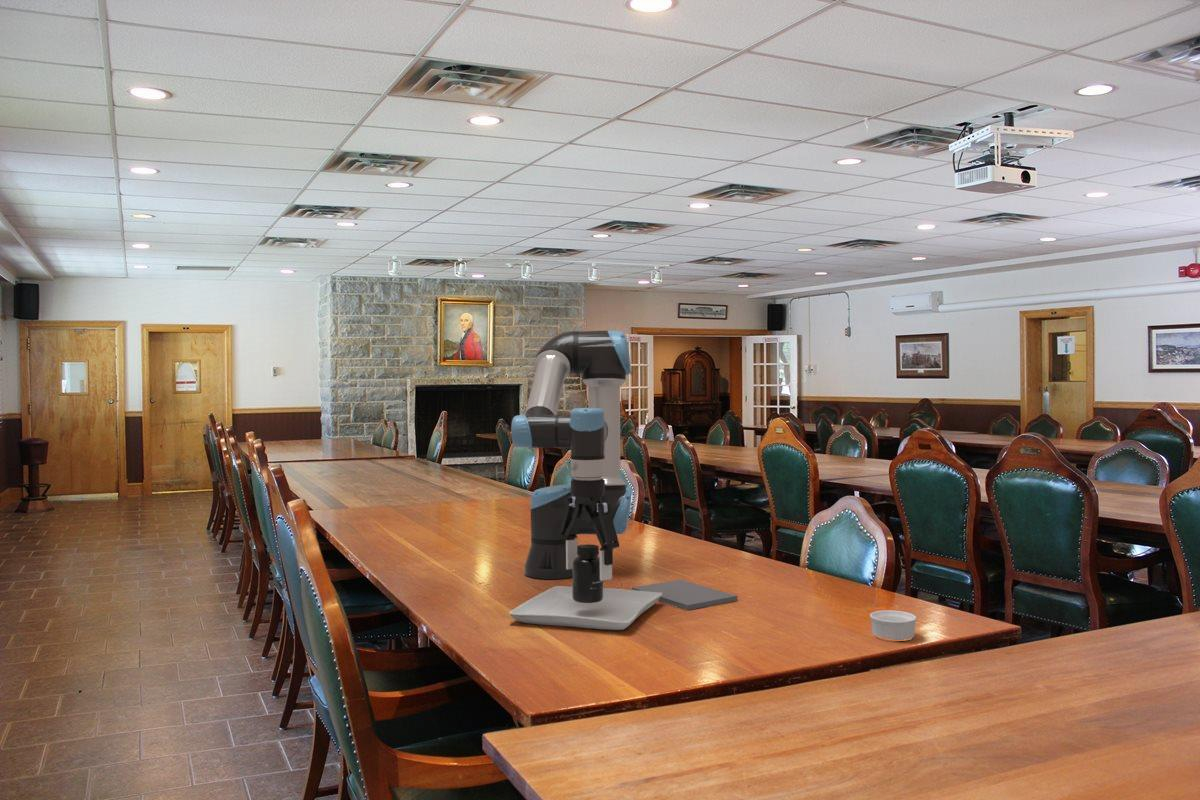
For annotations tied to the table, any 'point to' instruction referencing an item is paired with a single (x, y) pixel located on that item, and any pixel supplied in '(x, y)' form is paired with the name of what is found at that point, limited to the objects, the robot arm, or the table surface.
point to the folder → (688, 594)
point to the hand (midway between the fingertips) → (588, 574)
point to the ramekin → (893, 624)
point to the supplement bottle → (587, 575)
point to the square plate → (585, 608)
